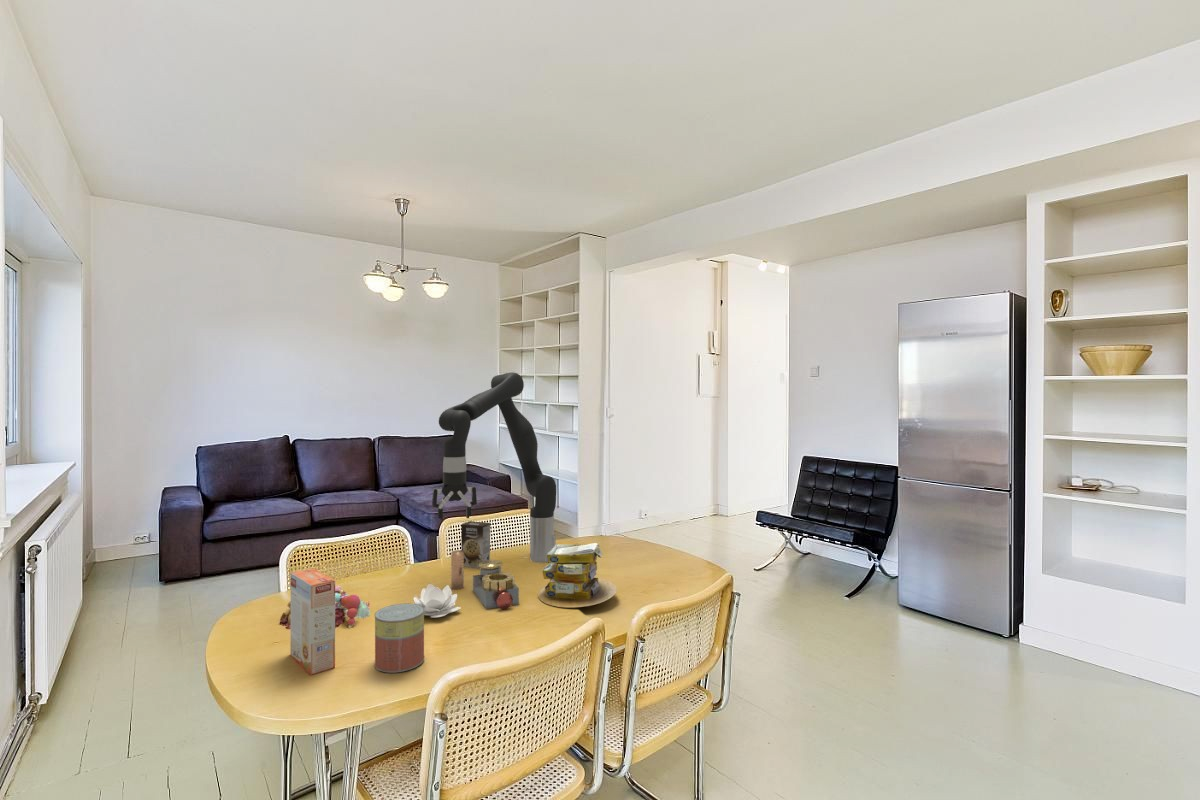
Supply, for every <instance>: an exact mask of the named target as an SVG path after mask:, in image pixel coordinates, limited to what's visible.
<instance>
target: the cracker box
mask: <svg viewBox="0 0 1200 800" xmlns="http://www.w3.org/2000/svg"><path fill="white" fill-rule="evenodd" d="M335 586H336V579H333V578H332V577H330V576H328V575H327V574H324V573H323V572H321V571H319V570H317V569H316V568H308V569H303V570H298V571H293V572H290V601H291V629H290V656H291V658H293V659H294V660H295V662H296V663H298V665H300V667H301V668H302V669H303V670H305V672H306V673H307V674H308V675H310V676H312V675H316V674H319V673H322V672H326V671H329V670H332V669H335V668H336V667H335V666H336V628H335Z"/></svg>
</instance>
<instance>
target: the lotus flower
mask: <svg viewBox="0 0 1200 800" xmlns="http://www.w3.org/2000/svg"><path fill="white" fill-rule="evenodd" d="M457 600H458V593H455V594H453V592H452V588H451V586H450V585H449V584H447V585H446V586H444V587H443V589H442V590H441V588H439V587H438V586H435V585H433V584H432V583H428V585H427V586H426V588H424V587H423V588H422V590H421V591H420V597H418V596H417V595H416V594H414V596H413V602H414V604H418V605H421V606H422V607H423V608H424V616H429V618H433V619H434V618H441V617H445V616H446V615H448V614H451V613H454V612H457V611H459V610H460V609H462V607H461V606H456V601H457Z"/></svg>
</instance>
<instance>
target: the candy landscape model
mask: <svg viewBox="0 0 1200 800" xmlns="http://www.w3.org/2000/svg"><path fill="white" fill-rule="evenodd" d="M368 607H369V608H368ZM287 608H288V609H286V610H285V611H283V613H282V614H281V616H280V621H279V624H280V625H281V626H282V627H285V629H286V630H291V600H290V601H289V602H288V604H287ZM370 614H371V609H370V602H368V603H367V602H365V601H363V600H362V599H361V598H360V597H359V596H358V595H357V594H350V595H348V593H347V592H346V591H344V590H342V588H341V586H340V585H335V629H336V628H338V627H340V625H342V624H344V623H345V621H346V618H348V619H347V625H348V628H349V629H351V628H353V626H354V624H355V623H356V620H355V618H356V619H364V618H365V619H366V618H367V617H369V616H370Z"/></svg>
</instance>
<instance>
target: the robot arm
mask: <svg viewBox="0 0 1200 800" xmlns="http://www.w3.org/2000/svg"><path fill="white" fill-rule="evenodd" d="M490 387H491V388H489V389H487V390H484V391H483V392H482V391H481V392H480V393H477V394H475V395H473V396H472V397H470V398H468V399H467V400H465V401H464V402H462V403H459V404H456V405H454V406H451V407H448V408H446V409H444V410H443V412H441V414H440V415H439V417H438V424H439V427H440V428H441V429H442V430H443V431H446V432H453V435H452V437H451V438H447V439H445V440H444V442H443V461H442V487H441V488H436V487H434V488H432V500H431V502H432V503H431V505H432V507H433V508H436V509H437V518H438V519H439V520H440V521H443V520H444V508H443V507H444V506H445V505H446V504H447V502H455V501H457V502H458V501H459V502H460V501H463V502H464V504H465V505H466V506H465V509H466V510H465V518H466V519H469V518H470V517H471V516H472V507H473V506H475V505H477V504H478V502H477V499H478V498H477V489H476V488H477V487H475V486H474V485H472V486H470V487H469V486H467V469H468V467H467V461H466V460H467V458H466V455H467V454H466V452H467V451H466V444H467V440H468V437H469V433H470V428H471V425H472V424H471V423H472V421H475V420H477V419H478V418H479V417H481V416H482V415H484V414H485V413H487V412H488V411H490V410H491V409H493V408H494V407H496V406H498V408H499V410H500V412H501V414H502V417H503V418H504V419H503V420H504V421H505V422H504V423H505V425H506V427H507V429H508V433H509V436H510V439H511V442H512V446H513V447H514V450H515V454H516V455H517V458H518V462H519V464H520V467H521V470H522V474H523V479H524V483H525V487H526V490H527V492H528V494H529V495H531V496H532V497H533V498H535V500H534V501H535V502H534V506H533V507H531V508H530V511H529V543H530V544H529V549H530V550H529V555H530V556H529V559H530V561H531V560H532V562H534V563H542V562H543V563H548V558H547V554H548V552H549V551H550V550H551V549H552V548H553V547H554V546H555V545H557V544H556V540H557V539H556V538H557V537H556V535H555V534H554V533H555V531H554V530H555V529H554V528H555V523H554V522H555V521H554V519H555V517H554V515H555V510H556V507H557V505H556V504H557V483H556V480H555V479H554V478H553V477H552V476H550V475H545V474H544V473H543V472H542V470H541V467H540V464H539V461H538V447H539V446H538V445H539V444H538V439H537V436H536V433H535V430H534V429H535V428H534V427H533V425H532V423H531V422H530V421H529V419H528V418H527V417H525V416H524V415H523V413H521V412H520V411H519V410H518V408H517V407H516V405H515V404H514V401H513V398H515V397H517V396H519V395H521V393H522V392H523V390H524V387H525V383H524V379H523V377H522V376H521V375H520V373H517V372H514V371H512V372H506V373H501V374H497V375H494V376H493V377H492V379H491V381H490ZM467 492H469V494H470V495H471V501H469V500H468V499H467V497H466V494H467ZM440 493H442V494H443V497H442V498H441V499H440V501H439V503H438V496H439V495H440Z"/></svg>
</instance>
